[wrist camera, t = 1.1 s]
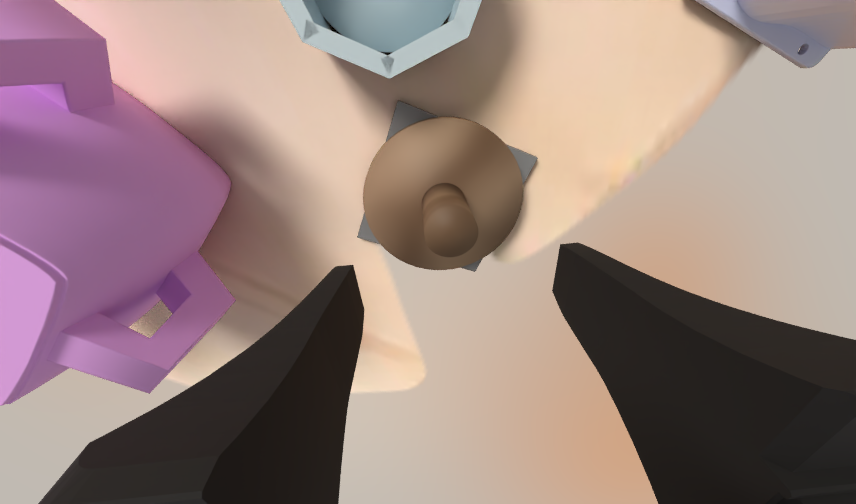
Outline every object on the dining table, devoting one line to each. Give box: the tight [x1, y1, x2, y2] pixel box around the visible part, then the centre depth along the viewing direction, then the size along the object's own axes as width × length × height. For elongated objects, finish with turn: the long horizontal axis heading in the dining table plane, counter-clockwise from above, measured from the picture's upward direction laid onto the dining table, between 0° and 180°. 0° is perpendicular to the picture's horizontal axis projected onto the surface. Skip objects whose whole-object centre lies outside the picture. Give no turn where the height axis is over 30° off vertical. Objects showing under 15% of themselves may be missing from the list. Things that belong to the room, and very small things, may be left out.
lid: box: [363, 117, 523, 270], centre depth 18 cm, size 10×10×5 cm
